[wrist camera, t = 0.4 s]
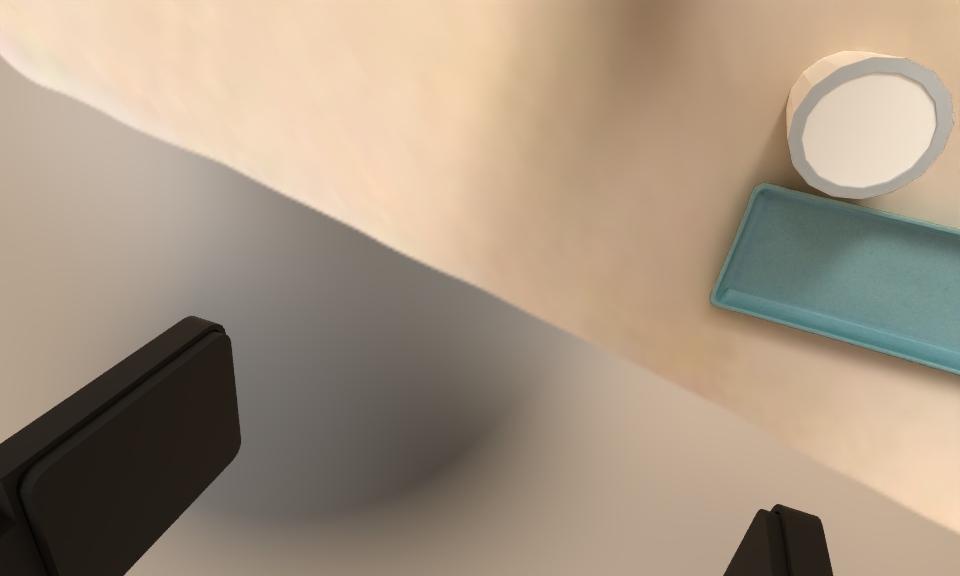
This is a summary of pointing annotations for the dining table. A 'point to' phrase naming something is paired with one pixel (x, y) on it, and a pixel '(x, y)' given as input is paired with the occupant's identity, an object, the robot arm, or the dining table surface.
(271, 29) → the dining table surface
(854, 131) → the white cup
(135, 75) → the dining table surface
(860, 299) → the teal serving tray
